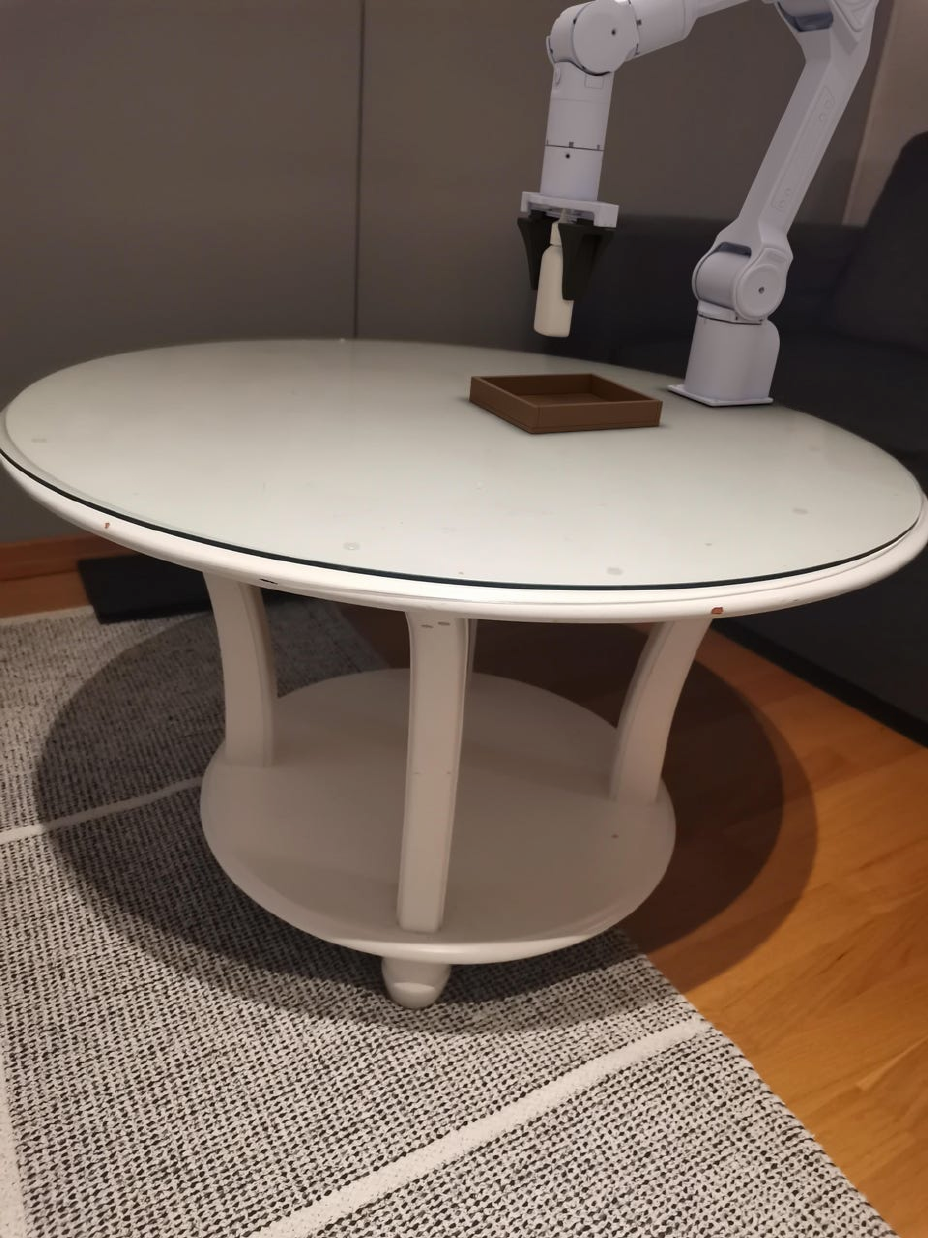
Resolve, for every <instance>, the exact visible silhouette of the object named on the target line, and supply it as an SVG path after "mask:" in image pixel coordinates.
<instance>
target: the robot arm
mask: <svg viewBox="0 0 928 1238" xmlns="http://www.w3.org/2000/svg"><path fill="white" fill-rule="evenodd" d="M749 1H750V0H592V1H589V2H584V3H580V4H577V5H572V6H570V7H567V8H566V9H565V10H563V11H562V12H561V13H560V14H559V17H558V18H556V19H555V21H554V23H553V25H552V28H551V32H550V35H547V36H546V39H545V44H546V45H545V46H546V53H547V56H548V59H549V61H550V63H551V65H552V68H553V76H552V83H551V90H550V91H551V92H550V98H549V105H548V115H547V123H546V124H547V126H546V133H545V134H546V135H545V141H544V143H545V144H544V152H543V159H542V160H543V161H542V168H541V180H540V187H539V192H535V191H534V192H533V191H522V193H521V204H520V212H523V213H530V214H528V216H527V217H525V216H518V217H517V219H516V225H517V227H518V229H519V232H520V234H521V236H522V240H523V244H524V248H525V252H526V258H527V266H528V275H529V284H530V290H531V291H538V287H539V278H540V270H541V262H542V256H543V254H544V252H545V251H546V249H548V248H549V247H550V246H551V245H553V244H550V240H551V232H552V224H553V223H554V222H556V221H558V220H559V219H560V217H561V214H562V211H563V209H570V214H565V216H566V217H565V219H568V220H571V221H572V223H573V221H574V222H575V223H574V224H572V223H558V230H559V234H560V238H561V244H562V253H563V275H562V297H563V300H567V301H574V302H582V301H584V298H585V296H586V293H587V290H588V288H589V285H590V283H591V280H592V277H593V275H594V272H595V270H596V268H597V266H598V264H599V262H600V260H601V258H602V256H603V254H604V253H605V251H606V250H607V249H608V247H609V245H610V244H611V243H612V242H613V240H614V239H615V237H616V229H612V228H616V227H617V222H618V216H619V215H618V214H619V209H620V205H617V204H612V203H609V202H608V203H607V202H604V201H599V200H598V197H599V195H598V194H599V189H600V182H601V174H602V166H603V158H604V151H605V144H606V143H605V142H606V136H607V129H608V122H609V114H610V107H611V100H612V92H613V84H614V78H615V77H614V76H615V72H616V71H617V70H618V69H619V68H620V67H621V66H622V65H623V63H625V62H628V61H631V60H634V59H637V58H639V57H641V56H645V55H646V54H647V55H648V54H649V53H653V52H654V51H657V50H660V49H662V48H665V47H668V46H671V45H673V44H677V43H679V42H681V41H684V40H685V39H686V38H687V37H688V36H689V34H690V33H691V31H692V30H693V27H694V25H695V23H696V20H697V19H698V18H701V17H705V16H707V15H710V14H713V13H716V12H719V11H721V10H725V9H727V8H731V7H733V6H737V5H740V4H742V3H745V2H749ZM761 2H762V3H764V4H766V5H768V4H773V5H774V7H775V9H776V10H777V12H778V14H779V16H780V17H781V18H782V20H783V22H784V23H785V25H786V26H787V28H788V29H789V30H790V32H791V34H792V35H793V37H794V38H795V40H796V41H797V42H798V44H799V45H800V47H801V50H802V52H803V55H804V58H805V65H804V68H803V70H802V72H801V73H800V77H799V79H798V80H797V83H796V86H795V88H794V90H793V93H792V95H791V97H790V99H789V101H788V104H787V105H786V108H785V110H784V113H783V115H782V118H781V119H780V121H779V124H778V127H777V128H776V131H775V133H774V135H773V138H772V140H771V142H770V145H769V147H768V149H767V151H766V153H765V155H764V157H763V159H762V161H761V165H760V167H759V169H758V171H757V174H756V176H755V178H754V180H753V182H752V185H751V187H750V190H749V191H748V193H747V197H746V198H745V201H744V203H743V205H742V208H741V210H740V212H739V214H738V217H737V218H736V219H734V220H733V221H732V222H731V223H730V224H729V225H727V226H726V227H725V228H724V229H722V230H721V231H720V232H719V233H718V234H717V236H716V237H715V240H714V242H713V244H712V246H711V248H710V249H709V250H708V251H707V252H706V253H705V254H704V255H703V256H702V257H701V258H700V260H699V261H698V262H697V264H696V266H695V268H694V270H693V273H692V277H691V287H692V293H693V295H694V296H695V299H696V300H697V301H698V303H697V308H696V311H697V314H696V315H697V316H696V320H695V326H694V332H693V336H692V342H691V348H690V353H689V357H688V362H687V368H686V373H685V378H684V382H683V384H667V387H666V389H667V390H669V391H670V392H674V393H676V394H679V395H682V396H684V397H686V398H690V399H691V400H695V401H697V402H700V403H702V404H705V405H708V406H710V407H711V406H712V407H720V406H721V407H722V406H739V405H740V406H741V405H757V404H759V405H760V404H761V405H762V404H773V402H774V399H773V398H771V397H769V395H770V389H771V386H772V381H773V378H774V373H775V369H776V365H777V362H778V361H777V360H778V356H779V352H780V346H781V345H780V344H781V343H780V335H779V331H778V328H777V327H776V325H775V324H774V323H773V322H772V321H770V320H769V319H768V317H769V316H770V315H772V313H774V312H775V311H776V309H778V307H779V306H780V304H781V302H782V300H783V298H784V295H785V293H786V292H785V291H786V287H787V276H788V271H789V269H790V266H791V263H792V261H793V260H794V254H793V251H792V249H791V246H790V243H789V241H788V237H787V235H788V232H789V230H790V229H791V226H792V224H793V222H794V221H795V217H796V215H797V213H798V211H799V208H800V207H801V205H802V202H803V200H804V198H805V196H806V193H807V191H808V189H809V188H810V185H811V183H812V180H813V179H814V176H815V175H816V172H817V169H818V168H819V166H820V163H821V162H822V159H823V158H824V154H825V153H826V150H827V148H828V146H829V144H830V142H831V140H832V137H833V135H834V133H835V131H836V129H837V126H838V125H839V123H840V121H841V118H842V116H843V113H844V111H845V109H846V107H847V105H848V102H849V101H850V98H851V96H852V94H853V92H854V90H855V89H856V86H857V83H858V81H859V79H860V78H861V75H862V72H863V70H864V68H865V66H866V64H867V61H868V58H869V55H870V51H871V50H870V49H871V44H872V35H873V28H874V23H875V16H876V15H875V14H876V8H877V6H878V4H879V2H880V0H761ZM558 210H559V211H558ZM610 228H611V229H610Z"/></svg>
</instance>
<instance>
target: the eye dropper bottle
mask: <svg viewBox="0 0 928 1238" xmlns="http://www.w3.org/2000/svg"><path fill="white" fill-rule="evenodd" d="M561 212H562V214H561V217H560V219H559V220H558V221H556V222H554V223H553V224H552V232H551V240H550V244H553V245H551V246H550V247H549V248H548V249H546V251H545V252H544V254H543V256H542V262H541V270H540V278H539V287H538V290H537V296H536V305H535V314H534V322H533V329H534V331H535V332H537V333H538V334H540V335H543V336H547V337H551V338H552V337H554V338H567V337H569V335H570V331H571V325H572V324H571V323H572V317H573V316H572V315H573V308H574V302H575V301H567V300H563V297H562V275H563V253H562V244H561V238H560V234H559V230H558V223H572V224H575V223H574V222H573V220H572V221H571V220H568V219H565V217H566V216H565V214H571V209H565V208H563V209H562V210H561Z"/></svg>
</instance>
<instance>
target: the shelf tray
mask: <svg viewBox="0 0 928 1238" xmlns="http://www.w3.org/2000/svg"><path fill="white" fill-rule="evenodd" d="M468 400H469V402H470V403H473V404H475V405H477V406H478V407H480V408H481V409H484V410H486V411H488V412H490V413H491V414H494V415H495V416H497V417H499V418H500V419H503V420H505V421H507V422H508V423H510V424H511V425H514V426H516V427H518V428H520V429H521V430H523V431H525V432H527V433H529V434H532V435H533V434H535V435H536V434H548V433H564V432H580V431H581V432H582V431H597V430H613V429H628V428H629V429H630V428H643V427H644V428H645V427H658V426H660V423H661V422H660V420H661V416H662V410H663V405H664V401H663V400H661V399H659V398H656V397H654V396H652V395H649V394H647V393H644V392H641V391H639V390H636V389H634V388H631V387H630V386H629V387H628V386H626V385H624V384H621V383H619V382H616V381H614V380H612V379H610V378H606V377H604V376H602V375H599V374H596V373H594V372H577V373H575V372H574V373H573V372H572V373H542V374H539V373H538V374H507V375H506V374H505V375H503V374H502V375H477V376H476V375H473V376H471V377H470V385H469V398H468Z"/></svg>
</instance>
